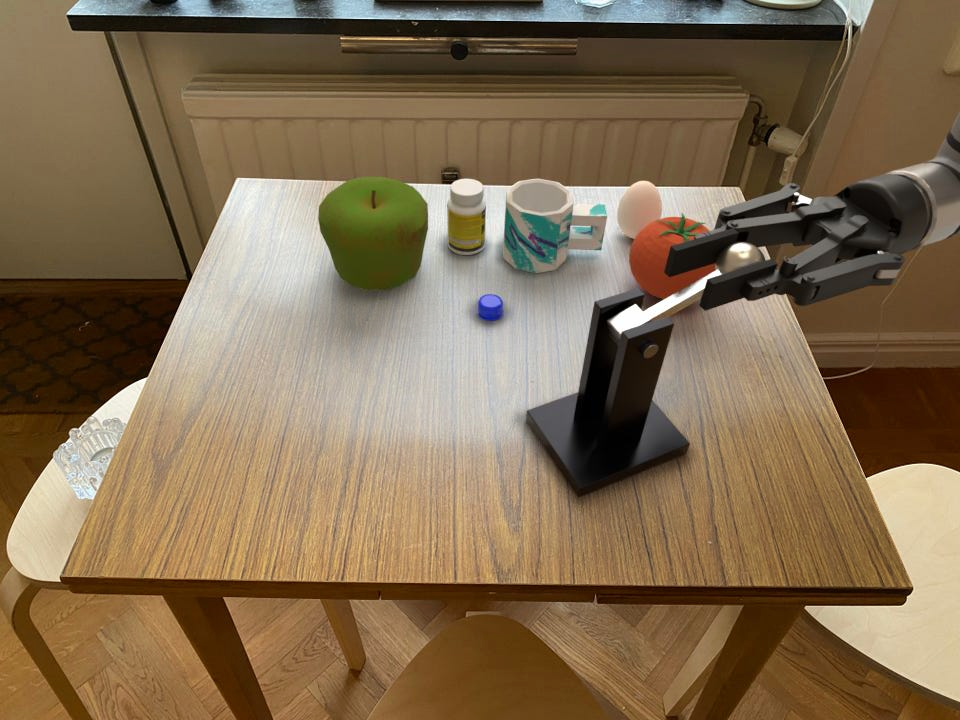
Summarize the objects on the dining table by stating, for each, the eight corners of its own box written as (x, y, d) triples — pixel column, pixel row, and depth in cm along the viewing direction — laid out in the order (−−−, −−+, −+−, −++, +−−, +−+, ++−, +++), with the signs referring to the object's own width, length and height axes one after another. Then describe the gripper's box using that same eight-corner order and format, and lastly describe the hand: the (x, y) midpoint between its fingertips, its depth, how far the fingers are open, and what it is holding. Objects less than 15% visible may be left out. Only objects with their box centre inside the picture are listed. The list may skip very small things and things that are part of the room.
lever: (743, 258, 63) (745, 225, 59) (774, 284, 60) (778, 250, 57) (604, 337, 61) (599, 306, 58) (631, 367, 59) (627, 336, 55)
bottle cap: (489, 300, 82) (489, 289, 81) (508, 312, 81) (509, 300, 80) (471, 312, 81) (471, 300, 80) (491, 324, 79) (491, 313, 78)
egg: (610, 223, 94) (620, 170, 89) (651, 224, 94) (663, 171, 89) (616, 248, 90) (626, 193, 85) (658, 249, 91) (672, 194, 85)
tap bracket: (627, 383, 73) (657, 260, 62) (686, 453, 67) (732, 329, 56) (525, 420, 69) (538, 295, 58) (578, 498, 63) (604, 374, 52)
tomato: (623, 314, 81) (639, 242, 74) (621, 261, 89) (636, 190, 81) (714, 322, 81) (738, 250, 74) (704, 268, 88) (726, 198, 81)
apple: (314, 257, 87) (300, 176, 79) (405, 233, 92) (401, 153, 84) (349, 318, 80) (337, 234, 72) (447, 288, 84) (446, 206, 76)
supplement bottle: (488, 254, 89) (490, 195, 83) (451, 258, 88) (451, 199, 82) (480, 232, 92) (482, 174, 86) (444, 236, 91) (443, 178, 86)
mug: (502, 233, 92) (506, 176, 86) (594, 236, 92) (604, 179, 86) (503, 272, 86) (507, 213, 80) (601, 275, 86) (612, 216, 80)
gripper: (952, 300, 62) (744, 379, 55) (810, 202, 73) (621, 257, 65) (998, 228, 57) (775, 305, 49) (838, 134, 68) (635, 186, 60)
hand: (688, 278), depth 57 cm, fingers closed on lever, 4 cm apart
